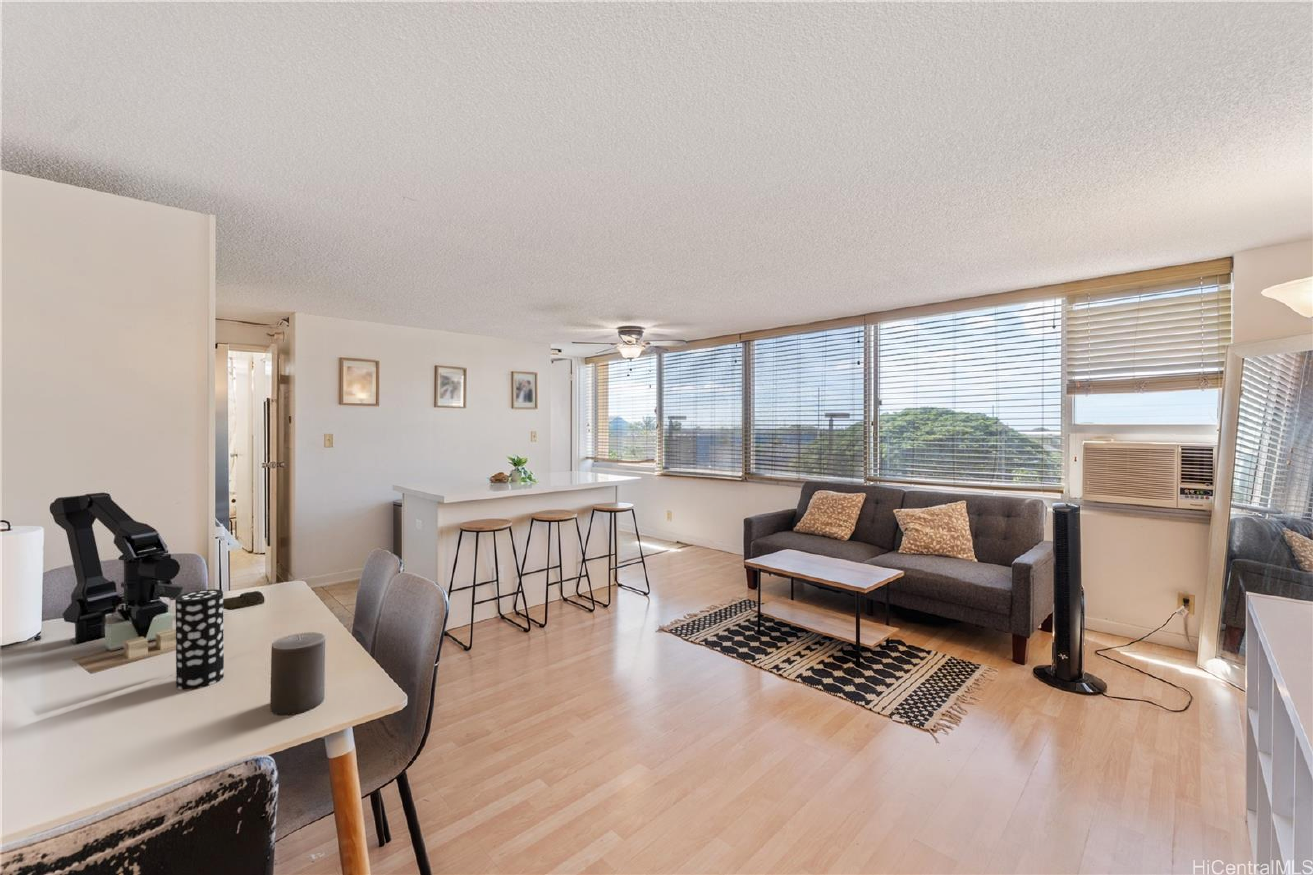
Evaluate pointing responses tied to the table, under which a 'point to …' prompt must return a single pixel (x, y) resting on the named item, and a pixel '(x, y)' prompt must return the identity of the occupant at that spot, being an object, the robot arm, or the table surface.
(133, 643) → the pine offcut left
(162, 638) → the pine offcut right
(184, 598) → the spotted tube
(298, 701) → the pillar candle
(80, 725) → the table surface
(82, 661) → the walnut board
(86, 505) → the robot arm
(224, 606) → the hand tool
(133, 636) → the sanding block
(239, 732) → the table surface
